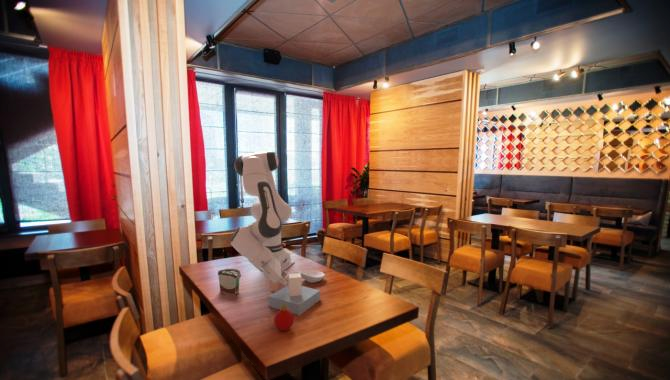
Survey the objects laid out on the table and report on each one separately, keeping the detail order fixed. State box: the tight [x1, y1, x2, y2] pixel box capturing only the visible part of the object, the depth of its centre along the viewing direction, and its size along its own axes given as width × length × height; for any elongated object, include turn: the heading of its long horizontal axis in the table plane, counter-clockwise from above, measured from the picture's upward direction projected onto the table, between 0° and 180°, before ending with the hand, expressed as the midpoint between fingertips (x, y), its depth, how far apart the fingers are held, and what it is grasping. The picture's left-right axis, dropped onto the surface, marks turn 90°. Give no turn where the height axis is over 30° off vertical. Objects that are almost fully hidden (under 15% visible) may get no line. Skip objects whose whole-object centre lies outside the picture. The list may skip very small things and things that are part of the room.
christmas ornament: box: [273, 303, 295, 332], centre depth 109 cm, size 7×7×10 cm
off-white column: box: [288, 273, 302, 296], centre depth 129 cm, size 5×5×8 cm
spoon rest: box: [285, 269, 326, 287], centre depth 153 cm, size 24×12×7 cm, turn 124°
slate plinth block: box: [268, 284, 321, 316], centre depth 130 cm, size 16×16×5 cm
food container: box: [217, 268, 242, 296], centre depth 141 cm, size 12×6×10 cm, turn 65°
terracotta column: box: [269, 275, 285, 293], centre depth 143 cm, size 5×5×8 cm
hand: (286, 279), depth 129 cm, fingers open, 8 cm apart
